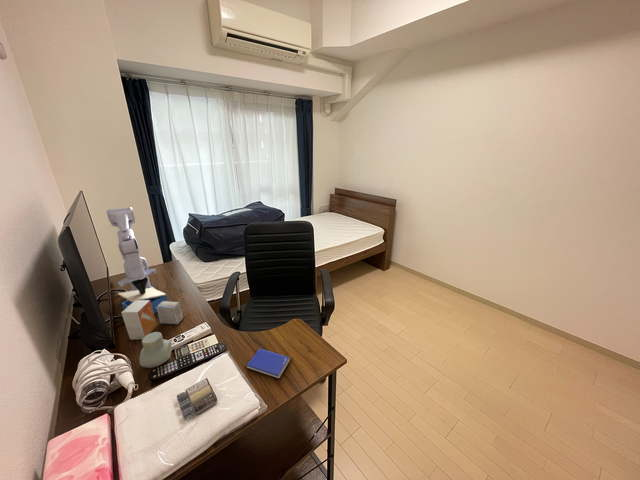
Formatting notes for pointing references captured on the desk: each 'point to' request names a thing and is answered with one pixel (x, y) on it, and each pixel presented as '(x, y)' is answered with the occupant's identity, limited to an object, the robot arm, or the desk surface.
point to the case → (154, 301)
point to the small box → (139, 319)
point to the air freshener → (154, 350)
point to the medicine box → (169, 312)
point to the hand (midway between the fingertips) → (142, 293)
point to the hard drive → (268, 363)
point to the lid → (137, 296)
